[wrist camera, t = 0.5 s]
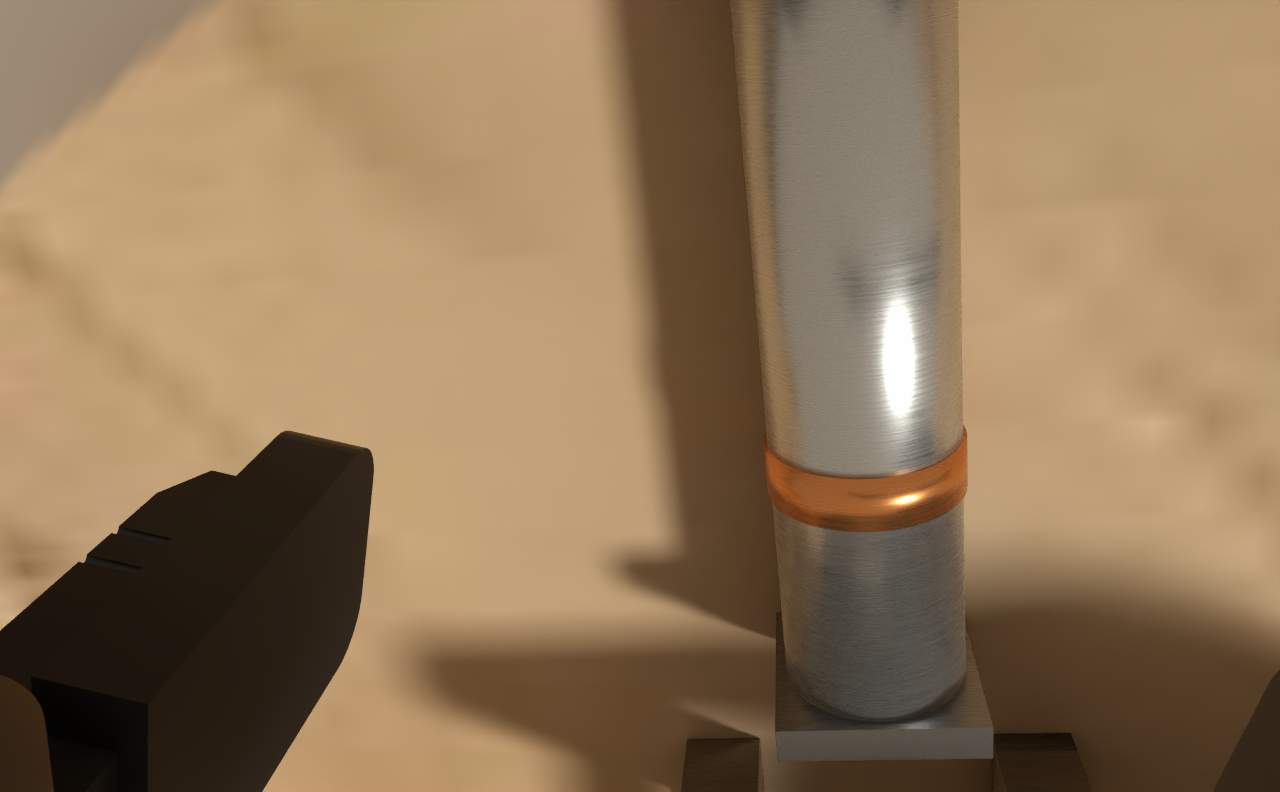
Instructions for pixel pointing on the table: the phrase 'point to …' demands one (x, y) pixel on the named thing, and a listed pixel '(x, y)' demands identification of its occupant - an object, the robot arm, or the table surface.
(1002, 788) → the hollow square frame
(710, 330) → the table surface
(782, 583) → the tube
